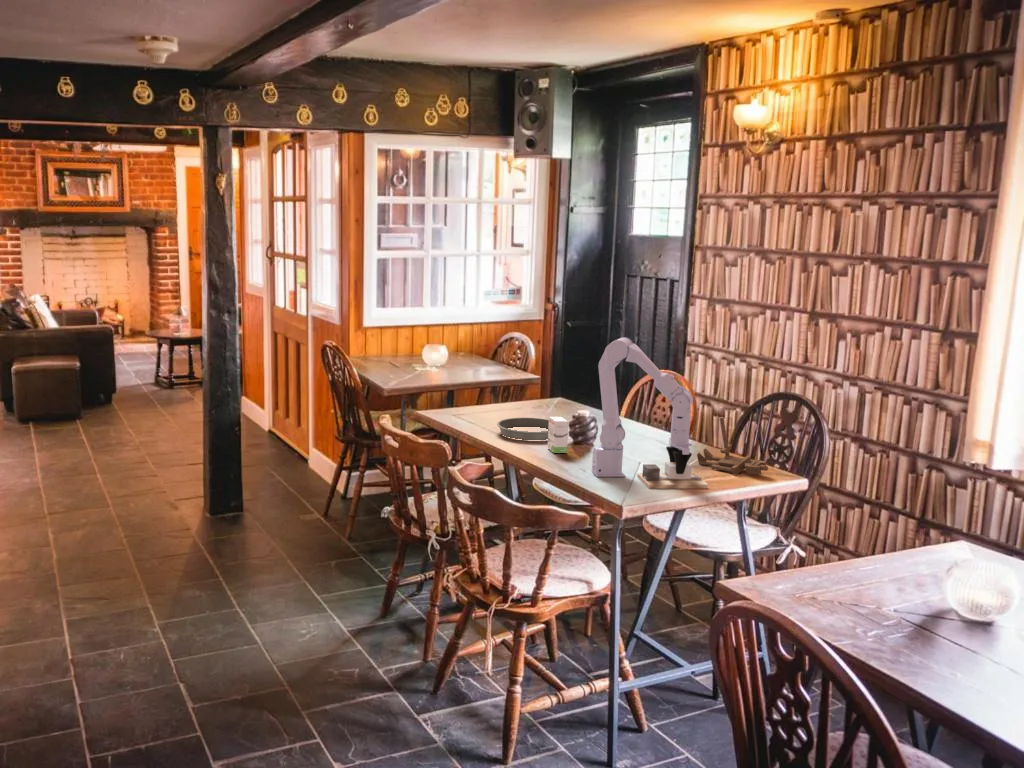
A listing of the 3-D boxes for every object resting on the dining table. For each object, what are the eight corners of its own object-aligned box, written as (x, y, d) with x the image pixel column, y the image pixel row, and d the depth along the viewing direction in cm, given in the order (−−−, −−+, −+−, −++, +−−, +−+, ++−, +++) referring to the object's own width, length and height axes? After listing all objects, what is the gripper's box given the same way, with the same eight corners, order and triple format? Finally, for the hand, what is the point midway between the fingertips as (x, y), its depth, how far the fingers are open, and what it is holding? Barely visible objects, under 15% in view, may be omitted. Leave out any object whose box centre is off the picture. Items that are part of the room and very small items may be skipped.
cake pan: (483, 432, 360) (484, 421, 359) (534, 426, 375) (534, 415, 374) (523, 446, 341) (524, 434, 340) (575, 439, 356) (575, 427, 355)
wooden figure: (706, 412, 327) (771, 418, 309) (713, 459, 332) (778, 468, 314) (682, 428, 317) (748, 435, 300) (690, 476, 322) (756, 486, 304)
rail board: (648, 488, 292) (649, 471, 291) (637, 476, 305) (638, 461, 304) (707, 488, 295) (709, 472, 294) (694, 477, 307) (695, 461, 306)
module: (669, 478, 297) (670, 465, 296) (664, 474, 302) (665, 461, 301) (690, 478, 298) (691, 465, 297) (685, 474, 303) (686, 461, 302)
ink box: (567, 454, 331) (569, 421, 329) (553, 454, 330) (555, 421, 328) (559, 448, 339) (561, 416, 337) (546, 448, 338) (548, 416, 336)
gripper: (700, 434, 290) (697, 477, 293) (685, 424, 305) (682, 465, 307) (678, 434, 289) (674, 477, 292) (664, 424, 304) (661, 465, 306)
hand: (677, 471), depth 299 cm, fingers closed on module, 5 cm apart
